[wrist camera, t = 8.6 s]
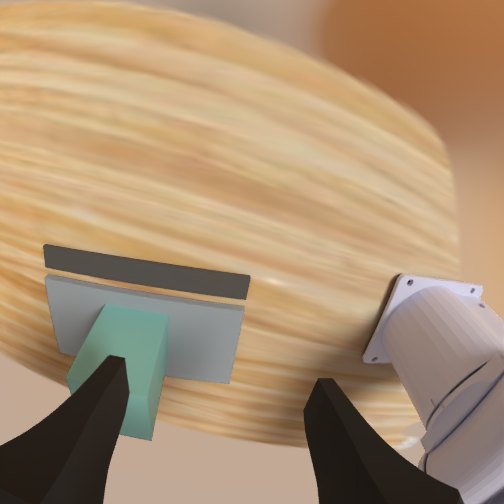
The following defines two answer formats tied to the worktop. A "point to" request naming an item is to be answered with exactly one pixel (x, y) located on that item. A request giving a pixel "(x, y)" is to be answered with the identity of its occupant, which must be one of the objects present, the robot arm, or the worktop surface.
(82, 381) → the block
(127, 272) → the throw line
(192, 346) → the mat
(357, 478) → the robot arm
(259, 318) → the worktop surface
